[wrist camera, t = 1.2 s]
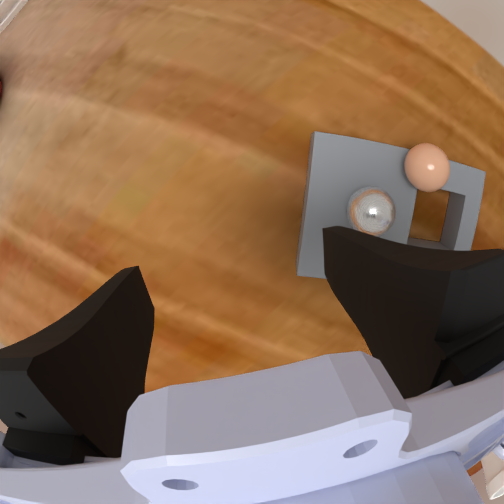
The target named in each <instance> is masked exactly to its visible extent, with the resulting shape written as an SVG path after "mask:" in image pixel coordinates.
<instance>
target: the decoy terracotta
mask: <svg viewBox="0 0 504 504" xmlns="http://www.w3.org/2000/svg"><path fill="white" fill-rule="evenodd" d="M404 168H405V173H406V176H407V178H408V180H409V181H410V183H411V184H412V185H413V186H414V187H416V188H417V189H419V190H421V191H424V192H434V191H437V190H439V189H441V188H442V187H443V186H444V185H445V184H446V183H447V181H448V179H449V176H450V164H449V160H448V158H447V156H446V154H445V153H444V152H443V151H442V150H441V149H440V148H439V147H437V146H436V145H433V144H430V143H421V144H418V145H416V146H414V147H412V148H411V149H410V151H409V152H408V153H407V155H406V158H405V162H404Z"/></svg>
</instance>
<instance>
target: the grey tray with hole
mask: <svg viewBox="0 0 504 504" xmlns="http://www.w3.org/2000/svg"><path fill="white" fill-rule="evenodd" d="M409 151H410V149H406V148H402V147H397V146H393V145H388V144H384V143H379V142H374V141H369V140H364V139H359V138H353V137H347V136H342V135H335V134H329V133H322V132H313V133H311V142H310V151H309V161H308V170H307V179H306V188H305V196H304V204H303V212H302V220H301V228H300V235H299V242H298V250H297V257H296V272H297V276H306V277H315V278H325V279H327V278H326V276H325V274H324V250H323V232H322V228H327V227H332V226H343V227H347V228H351V229H353V227H352V226H351V224H350V223H349V220H348V217H347V205H348V202H349V199H350V198H351V196H352V195H353V194H354V193H355V192H356V191H357V190H359V189H361V188H363V187H367V186H375V187H379V188H381V189H383V190H385V191H386V192H387V193H388V194H389V195H390V196H391V197H392V199H393V201H394V203H395V207H396V218H395V221H394V224H393V225H392V227H391V228H390V229H389V231H387V232H386V233H385V234H383V235H381V236H378V237H380V238H383V239H387V240H391V241H394V242H398V243H402V244H407V245H412V246H418V247H424V248H431V249H441V250H457V251H470V249H471V245H472V242H473V237H474V233H475V229H476V224H477V220H478V215H479V210H480V205H481V199H482V193H483V187H484V180H485V173H486V172H484V171H482V170H479V169H476V168H473V167H470V166H467V165H463V164H460V163H457V162H454V161H450V160H449V164H450V176H449V179H448V181H447V183H446V184H445V185H444V186H443V187H442V188H441V189H442V190H447V191H450V195H449V201H448V206H447V211H446V216H445V221H444V226H443V230H442V235H441V239H440V242H435V241H429V240H423V239H416V238H410V237H408V236H409V231H410V226H411V221H412V216H413V211H414V205H415V200H416V194H417V188H416V187H414V186H413V185H412V184H411V183H410V181H409V180H408V178H407V176H406V173H405V168H404V162H405V158H406V155H407V153H408V152H409Z"/></svg>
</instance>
